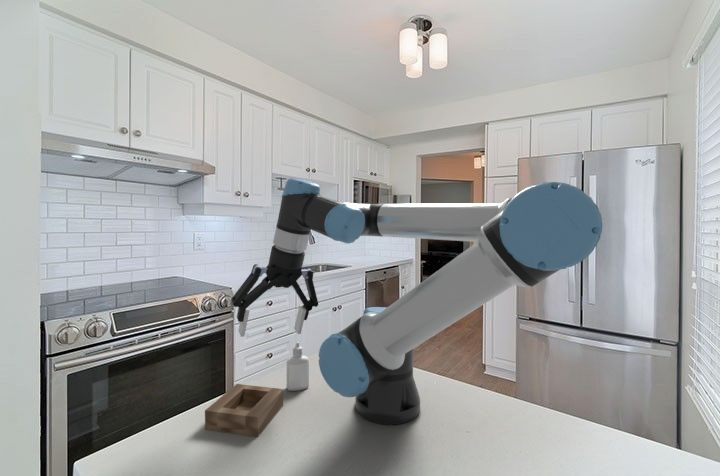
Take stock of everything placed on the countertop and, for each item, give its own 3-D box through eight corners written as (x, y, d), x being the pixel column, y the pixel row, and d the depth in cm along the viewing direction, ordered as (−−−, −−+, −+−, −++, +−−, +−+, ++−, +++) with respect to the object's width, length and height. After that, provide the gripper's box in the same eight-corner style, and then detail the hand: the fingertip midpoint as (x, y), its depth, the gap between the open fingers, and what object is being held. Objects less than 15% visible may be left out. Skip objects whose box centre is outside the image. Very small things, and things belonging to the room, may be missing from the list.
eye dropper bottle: (305, 392, 87) (305, 346, 87) (284, 390, 88) (284, 344, 88) (310, 384, 92) (310, 340, 91) (290, 383, 92) (290, 338, 92)
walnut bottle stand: (283, 405, 81) (283, 389, 81) (258, 436, 69) (258, 417, 69) (236, 400, 83) (236, 383, 83) (205, 429, 72) (204, 410, 72)
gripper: (330, 247, 87) (312, 323, 92) (228, 236, 74) (212, 325, 78) (344, 257, 81) (323, 338, 85) (235, 248, 68) (217, 344, 72)
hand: (270, 332), depth 82 cm, fingers open, 13 cm apart
